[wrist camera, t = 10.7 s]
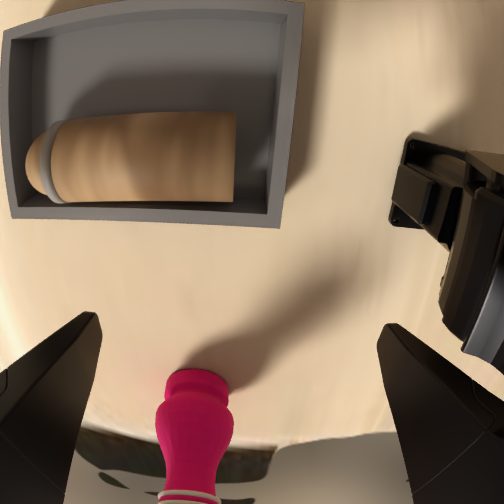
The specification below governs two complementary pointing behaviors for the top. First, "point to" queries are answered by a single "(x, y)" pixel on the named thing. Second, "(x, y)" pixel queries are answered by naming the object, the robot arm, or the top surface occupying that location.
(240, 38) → the dish
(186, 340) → the top surface
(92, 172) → the shaker
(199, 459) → the pepper mill
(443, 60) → the top surface
